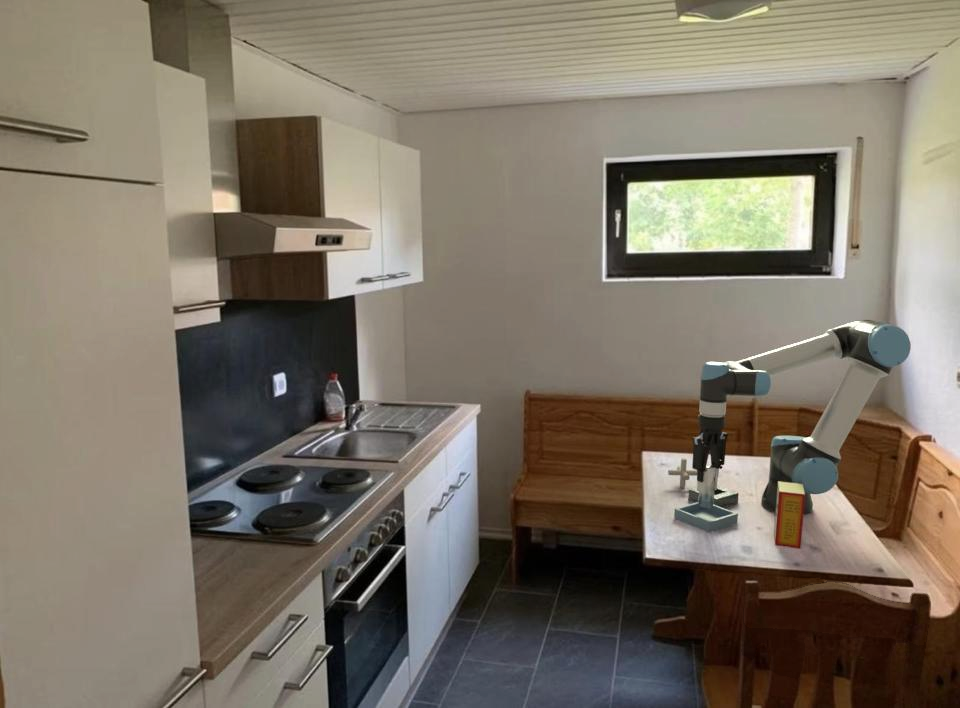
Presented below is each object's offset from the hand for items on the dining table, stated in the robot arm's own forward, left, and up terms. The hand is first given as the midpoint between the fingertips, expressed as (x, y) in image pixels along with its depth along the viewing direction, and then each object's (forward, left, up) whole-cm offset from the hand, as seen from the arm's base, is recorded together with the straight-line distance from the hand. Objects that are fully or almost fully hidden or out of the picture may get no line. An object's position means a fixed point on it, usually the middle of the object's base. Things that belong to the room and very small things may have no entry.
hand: (706, 489), depth 218 cm
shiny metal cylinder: (0, 0, -5) cm, 5 cm away
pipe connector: (+25, -19, -10) cm, 33 cm away
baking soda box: (-22, -8, -10) cm, 26 cm away
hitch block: (+10, -16, -10) cm, 21 cm away
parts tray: (0, 0, -10) cm, 10 cm away
